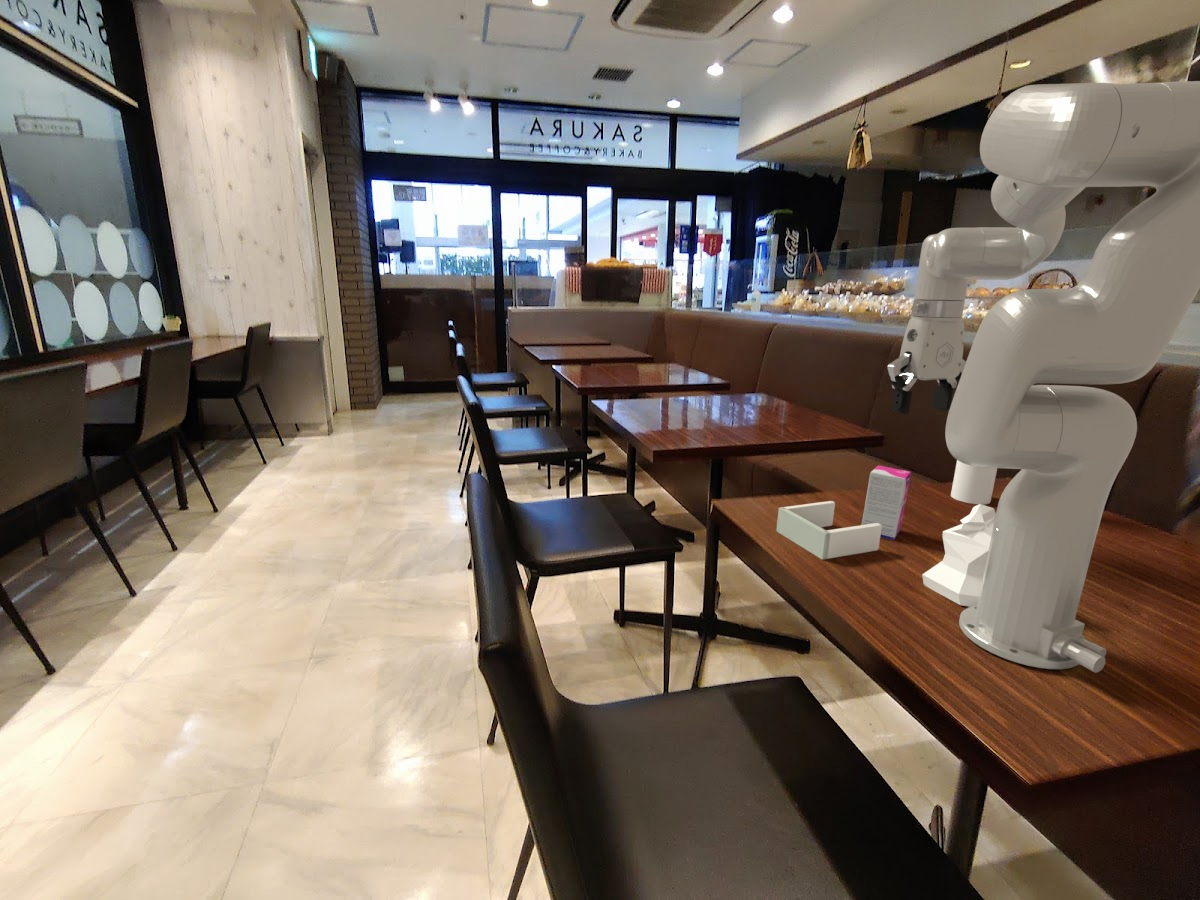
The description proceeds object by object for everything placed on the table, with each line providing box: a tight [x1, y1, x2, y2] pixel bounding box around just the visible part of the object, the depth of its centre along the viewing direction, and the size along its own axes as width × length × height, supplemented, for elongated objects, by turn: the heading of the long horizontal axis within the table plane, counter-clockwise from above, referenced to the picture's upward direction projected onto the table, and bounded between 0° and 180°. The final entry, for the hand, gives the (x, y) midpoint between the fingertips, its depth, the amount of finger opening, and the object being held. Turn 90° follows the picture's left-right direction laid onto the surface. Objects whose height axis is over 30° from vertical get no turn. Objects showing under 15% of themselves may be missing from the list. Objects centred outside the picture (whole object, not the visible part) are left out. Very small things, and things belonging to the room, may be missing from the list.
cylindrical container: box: [950, 459, 998, 505], centre depth 119 cm, size 7×7×25 cm
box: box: [776, 500, 882, 560], centre depth 100 cm, size 12×12×4 cm
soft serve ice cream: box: [922, 504, 997, 607], centre depth 82 cm, size 12×15×14 cm
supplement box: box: [861, 465, 912, 541], centre depth 103 cm, size 6×6×12 cm
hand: (920, 410), depth 103 cm, fingers open, 9 cm apart
